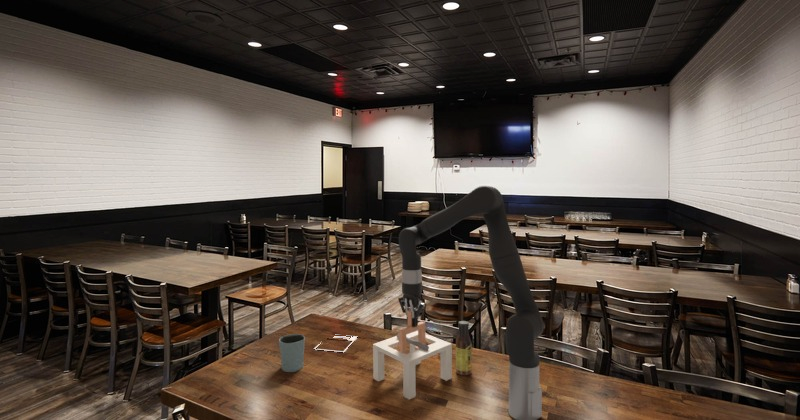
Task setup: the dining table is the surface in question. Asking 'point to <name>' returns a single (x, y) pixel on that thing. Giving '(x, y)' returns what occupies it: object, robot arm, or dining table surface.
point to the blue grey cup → (292, 352)
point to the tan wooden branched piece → (410, 329)
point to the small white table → (412, 359)
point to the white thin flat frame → (343, 338)
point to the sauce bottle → (463, 350)
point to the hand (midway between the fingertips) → (412, 325)
